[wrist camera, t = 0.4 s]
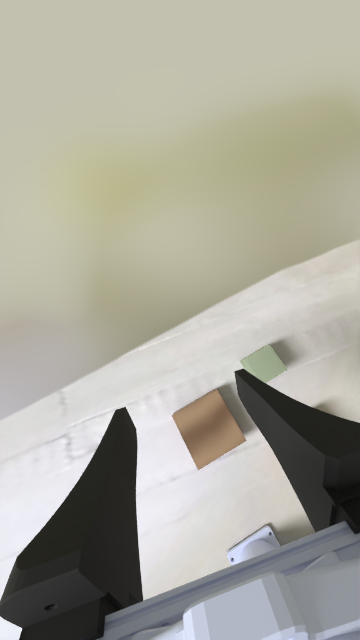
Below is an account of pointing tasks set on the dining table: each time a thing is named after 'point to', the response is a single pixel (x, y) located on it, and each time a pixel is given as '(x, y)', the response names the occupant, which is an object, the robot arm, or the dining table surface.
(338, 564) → the robot arm
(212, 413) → the walnut block
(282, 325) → the dining table surface
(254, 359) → the green cube
